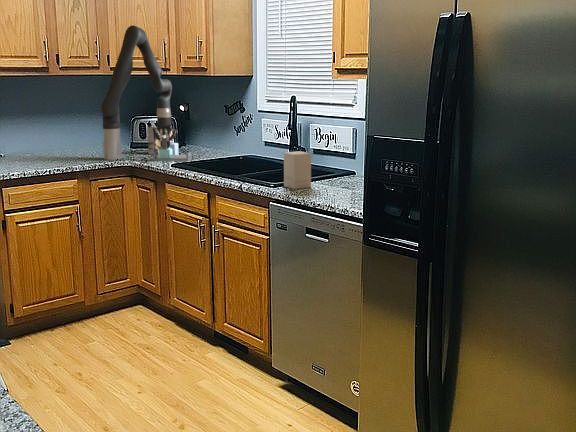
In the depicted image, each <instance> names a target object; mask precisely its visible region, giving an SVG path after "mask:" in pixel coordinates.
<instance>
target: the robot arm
mask: <svg viewBox="0 0 576 432" xmlns="http://www.w3.org/2000/svg"><path fill="white" fill-rule="evenodd" d="M121 44H122V45H121V48H120V52H119V54H118V57H117V60H116V63H115V66H114V67H113V72H112V74H111V75H112V76H111V77H110V82H109V87H108V90H107V93H106V95H105V97H104V99H103V101H102V103H101V105H100V111H101V113H102V134H103V142H102V153H103V154H102V155H103V160H107V161H108V160H109V161H112V160H113V161H114V160H115V161H116V160H117V159H118V160H121V159H122V158H123V155H122V140H121V117H120V116H121V115H120V105H119V104H120V100H121V99H122V98H121V97H122V95H123V92H124V90H125V88H126V86H127V85H128V82H130V81H129V80H130V78H131V75H132V72H133V68H134V60H133V59H134V52H135V49H136V47H137V48H138V50H139V51H140V53H141V56H142V61H143V64H144V67H145V69H146V71H147V73H148V75H149V77H150V81H151V82H150V83H151V85H152V88H153V90H154V91H155V92H156V93H160V96H159V97H157V98H156V108H157V109H156V117H157V118H156V119H157V121H156V122H157V123H156V125H157V126H156V127H157V129H155V130H153V133H154V135H155V137H156V138H157V140H160V142H161V147H162V139H163V138H164V135H166V138H167V148H169V147H170V141H171V142H172V141H173V140H174V138H175V136H176V134H177V131H178V130H177V129H174V128H173V126H172V111H171V97H172V92H173V85H172V82H171V80H170V79H168V78H167V79H165V78H161V76H162V75H163V69H162V68H161V66H160V64H159V62H158V60H157V59H156V57H155V54H154V52H153V49H152V47H151V45H150V42H149V39H148V36H147V34H146V32H145V30H144V29H142V28H141V27H139V26H136V25H135V24H134V25H133V24H132V25H130V26H128V27H127V28H126V30H125V33H124V37H123V39H122V43H121ZM158 131H159V133H160V136H159V135H158ZM170 134H172V135H171V138H170Z"/></svg>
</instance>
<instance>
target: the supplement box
mask: <svg viewBox="0 0 576 432" xmlns="http://www.w3.org/2000/svg"><path fill="white" fill-rule="evenodd" d="M283 186H284V187H286V188H290V189H293V190H299V189H306V188H307V189H308V188H312V153H311V152H307V151H302V150H298V151H287V152H283Z"/></svg>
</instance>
